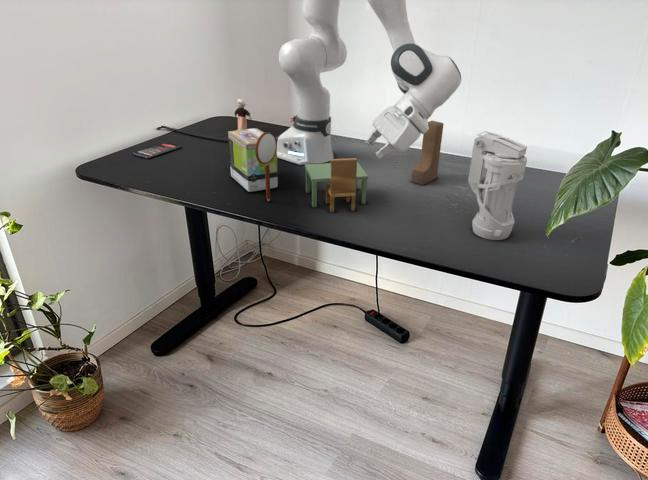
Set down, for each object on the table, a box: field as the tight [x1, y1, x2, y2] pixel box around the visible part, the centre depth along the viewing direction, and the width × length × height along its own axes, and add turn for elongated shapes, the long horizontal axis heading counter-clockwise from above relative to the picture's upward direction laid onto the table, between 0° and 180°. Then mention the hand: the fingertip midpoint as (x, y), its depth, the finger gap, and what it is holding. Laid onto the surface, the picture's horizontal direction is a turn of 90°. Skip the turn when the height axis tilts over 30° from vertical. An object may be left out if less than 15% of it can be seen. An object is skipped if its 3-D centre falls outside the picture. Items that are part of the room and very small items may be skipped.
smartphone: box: [133, 141, 181, 159], centre depth 188 cm, size 7×1×15 cm
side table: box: [304, 161, 369, 208], centre depth 157 cm, size 12×16×8 cm
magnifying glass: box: [255, 131, 277, 202], centre depth 150 cm, size 9×2×20 cm, turn 149°
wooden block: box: [410, 120, 445, 186], centre depth 169 cm, size 9×4×18 cm, turn 141°
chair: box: [325, 157, 358, 213], centre depth 150 cm, size 7×7×15 cm
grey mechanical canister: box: [467, 130, 528, 241], centre depth 137 cm, size 13×10×25 cm
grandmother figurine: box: [233, 98, 253, 130], centre depth 208 cm, size 8×4×13 cm, turn 81°
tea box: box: [227, 127, 279, 193], centre depth 163 cm, size 15×10×15 cm, turn 31°
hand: (372, 150), depth 144 cm, fingers open, 8 cm apart
